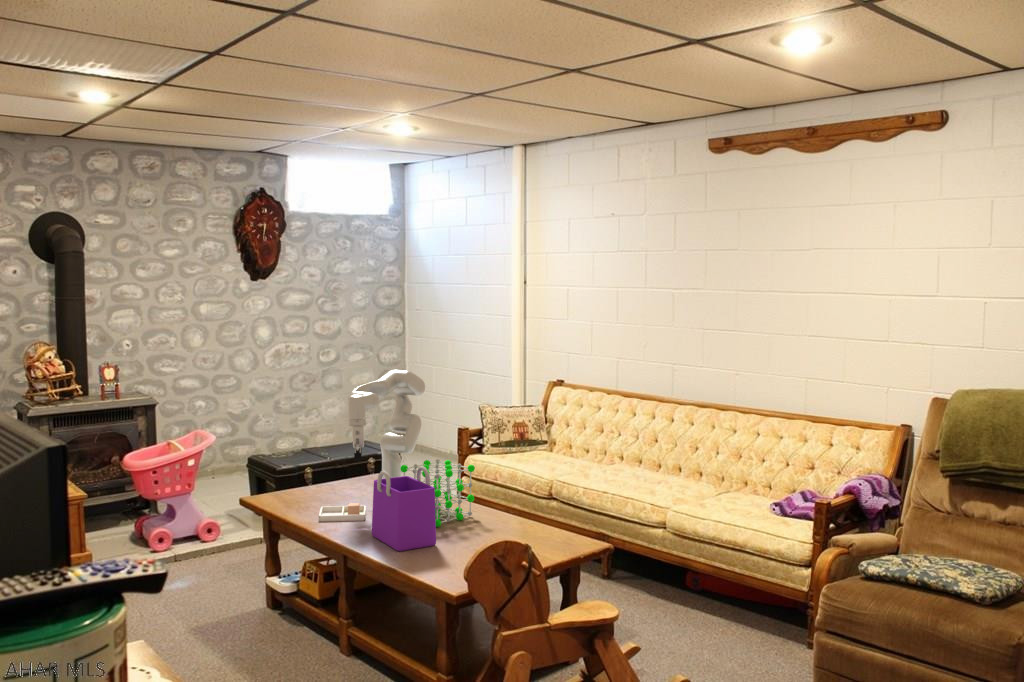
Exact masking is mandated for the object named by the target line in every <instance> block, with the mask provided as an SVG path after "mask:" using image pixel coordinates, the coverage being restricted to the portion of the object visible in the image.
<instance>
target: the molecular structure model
mask: <svg viewBox="0 0 1024 682" xmlns="http://www.w3.org/2000/svg"><path fill="white" fill-rule="evenodd" d="M421 466H423V467H425V468H426V469H427V470H428V472H429V475H430V476H432V477H434V478H430V486H432V485H433V487H434V488H435V516H436V528H440V527H441V525H442V524H443V523H445V522H447V523H450V522H451V521H452V520H455V519H456V520H457V521H459V520H460V521H462V520H463V519H464V517H467V516H468V517H469V516H472V515H473V512H472V503H473V502H474V501H475V496H474V495H473V494H472V487H473V483H472V473H473V472H475V469H476V468H475V467H476V466H475V465H474V464H469V465H467V466H464V465H462V464H461V463H458V464H455V463H452V461H451V460H449V459H446V460H445V461H440V459H438V458H437V459H436V460H435V461H433V462H431V460H428V459H426V460H424V461H423V462H422V464H417V463H415V464H413V466H408V465H406V464H402V466H401V468H400V469H401V471H402V473H403V476H406V473H407V472H408V471H411V472H412V473H413V478H414V479H416V480H417V470H418V468H419V467H421ZM455 468H457V469H455ZM461 468H464V469H461ZM466 471H467V472H469V483H466V482H465V483H464V482H463V481H464V480H462V478H461V476H462V475H461V474H462V472H466ZM433 473H435V474H433ZM421 474H422V477H424V480H422V481H421V482H423V483H425V484H426V476H425V473H424V471H423V470H422V471H421ZM453 474H457V475H458V477H457V479H455V480H452V479H451V477H453ZM444 476H445V477H446V478H443V477H444ZM443 482H446V483H443ZM450 482H452V483H450ZM441 485H442V486H441ZM450 487H451V488H450ZM452 487H453V488H452ZM467 487H468V488H469V494H468V495H467V496H463V495H462V494H461V493H462V491H463V490H464V489H465V488H467ZM444 488H446V489H444ZM454 490H455V491H457V494H454V493H452V491H454ZM455 498H457V500H455ZM461 498H463V499H461ZM443 501H445V502H443ZM465 501H467V502H469V511H468V512H465V511H463V508H462V507H461V504H462V503H463V502H465ZM453 504H458V505H457V507H456V508H455V509H453V508H452V507H453ZM445 510H446V512H443V511H445ZM451 511H452V512H451ZM440 514H442V515H440ZM446 516H447V517H446ZM443 517H446V518H443ZM441 520H442V521H441Z"/></svg>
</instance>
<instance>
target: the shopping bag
mask: <svg viewBox="0 0 1024 682" xmlns="http://www.w3.org/2000/svg"><path fill="white" fill-rule="evenodd" d="M416 470H417V473H416V479H417V480H416V479H414V477H411V476H409V475H408V476H407V475H405V476H404V475H401V477H393V478H390V477H389V474H388V473H387V472H386V471H382V470H380V472H379V474H378V476H377V479H374V480H373V491H372V493H373V495H372V514H371V536H372V537H374V538H376V539H377V540H378V541H380V542H382V543H384V544H385V545H387V546H388V547H390V548H392V549H393V550H394V551H397V552H403V551H405V552H406V551H411V550H414V549H415V550H416V549H421V548H422V549H423V548H427V547H432V546H435V545H436V544H437V527H436V516H435V500H436V499H435V488H434V486H432V485H430V484H431V482H430V479H431V475H429V472H430V471H429V472H428V470H427V469H426V468H425V467H423V466H419V468H417V469H416ZM422 470H423V471H424V473H425V476H426V484H425V482H421V479H422V477H421V474H422V473H421V472H423V471H422ZM383 475H384V476H385V479H382V476H383Z"/></svg>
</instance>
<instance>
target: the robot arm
mask: <svg viewBox="0 0 1024 682" xmlns="http://www.w3.org/2000/svg"><path fill="white" fill-rule="evenodd" d="M424 381H425V380H423V379H422V378H421V377H420V376H418V375H417V374H416V373H414V372H412V371H411V370H403V369H402V370H401V369H391V370H389V371H387V372H386V373H384V374H383V375H382V376H381V377H380V378H378V379H377V380H375V381H371V382H367V383H364V384H362V385H359V386H357V387H356V388H354V389H353V390H352V391H351V392H350V394H349V396H348V399H347V400H348V426H349V427H351V439H352V447H353V448H354V453H353V457H354V459H353V460H354V462H362V457H363V456H362V453H363V452H362V448H364V447H365V429H364V426H366V425H367V424H366V421H367V420H366V410H372V409H375V408H376V407H377V406H378V405H379V403H380V398H381V397H385V396H387V395H389V394H390V393H392V392H393V394H394V400H395V405H394V408H393V411H392V415H391V417H390V421H389V429H390V430H391V431H393V432H391V431H390V432H385V433H383V434H381V437H380V442H379V444H380V450H381V471H386V472H387V473H388V474H389V477H390V478H393V477H402V473H403V472H402V471H401V469H400V468H401V466H402V465H403V464H402V458H401V455H400V454H406V455H407V454H409V455H410V454H412V453H413V452H414V450H415V447H416V445H417V442H418V438H419V436H420V433H421V428H422V419H421V417H420V416H419V415H417V414H413V413H412V409H413V403H412V401H411V399H410V397H409V396H417V397H418V396H422V395H423V394H424V392H425V391H426V385H425V382H424ZM382 479H385V476H384V475H383V476H382Z"/></svg>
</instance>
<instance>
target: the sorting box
mask: <svg viewBox="0 0 1024 682" xmlns="http://www.w3.org/2000/svg"><path fill="white" fill-rule="evenodd" d="M366 508H367V506H366V505H360V515H348V505H333V506H331V505H330V506H329V505H328V506H327V505H326V506H321V507H320V509H319V512H318V513H319V514H318V522H345V521H346V522H348V521H349V522H350V521H352V522H353V521H356V522H357V521H358V522H359V521H366V516H367V515H366V511H367V509H366Z"/></svg>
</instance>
